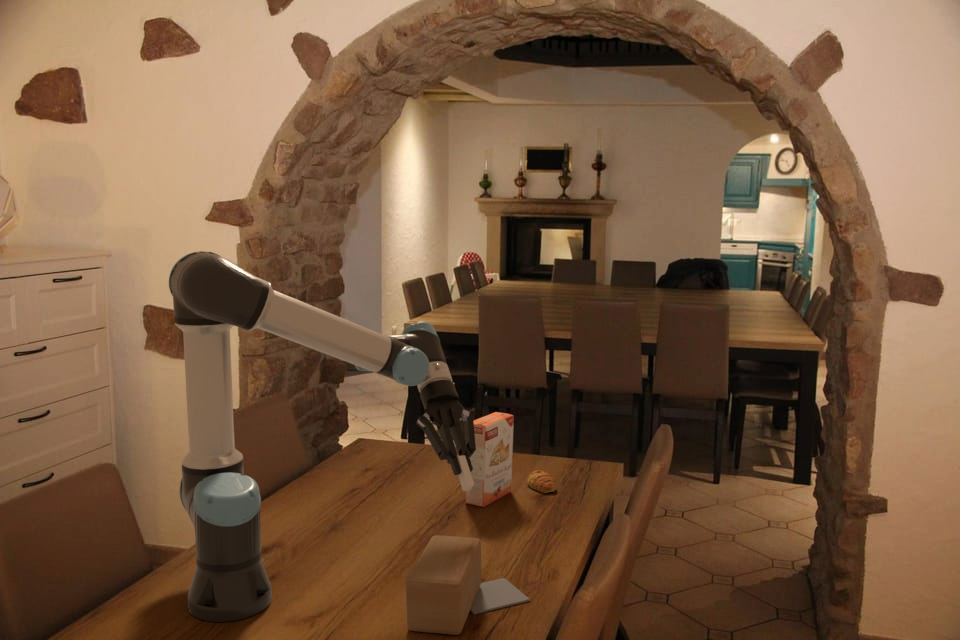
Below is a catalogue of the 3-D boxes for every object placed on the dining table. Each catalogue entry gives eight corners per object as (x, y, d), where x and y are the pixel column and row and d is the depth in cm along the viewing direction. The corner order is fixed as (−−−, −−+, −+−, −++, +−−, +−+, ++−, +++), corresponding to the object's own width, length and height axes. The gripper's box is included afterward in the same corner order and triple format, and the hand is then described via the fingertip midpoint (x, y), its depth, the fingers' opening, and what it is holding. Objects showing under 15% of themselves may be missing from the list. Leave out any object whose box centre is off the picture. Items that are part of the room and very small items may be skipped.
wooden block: (482, 584, 167) (461, 637, 148) (433, 580, 169) (405, 632, 150) (481, 536, 165) (460, 583, 146) (432, 532, 167) (404, 579, 148)
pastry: (562, 493, 221) (563, 478, 221) (539, 496, 219) (539, 482, 218) (546, 481, 230) (546, 468, 229) (524, 484, 227) (524, 471, 227)
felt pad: (473, 614, 156) (473, 612, 156) (450, 591, 165) (450, 589, 165) (529, 601, 162) (529, 599, 162) (504, 579, 171) (504, 577, 171)
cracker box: (484, 508, 209) (486, 426, 206) (464, 503, 212) (465, 422, 209) (513, 492, 220) (515, 413, 217) (493, 487, 224) (494, 410, 220)
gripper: (412, 380, 175) (444, 483, 162) (469, 375, 181) (504, 475, 168) (402, 399, 180) (432, 500, 168) (458, 394, 186) (491, 492, 174)
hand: (468, 487), depth 168 cm, fingers closed
